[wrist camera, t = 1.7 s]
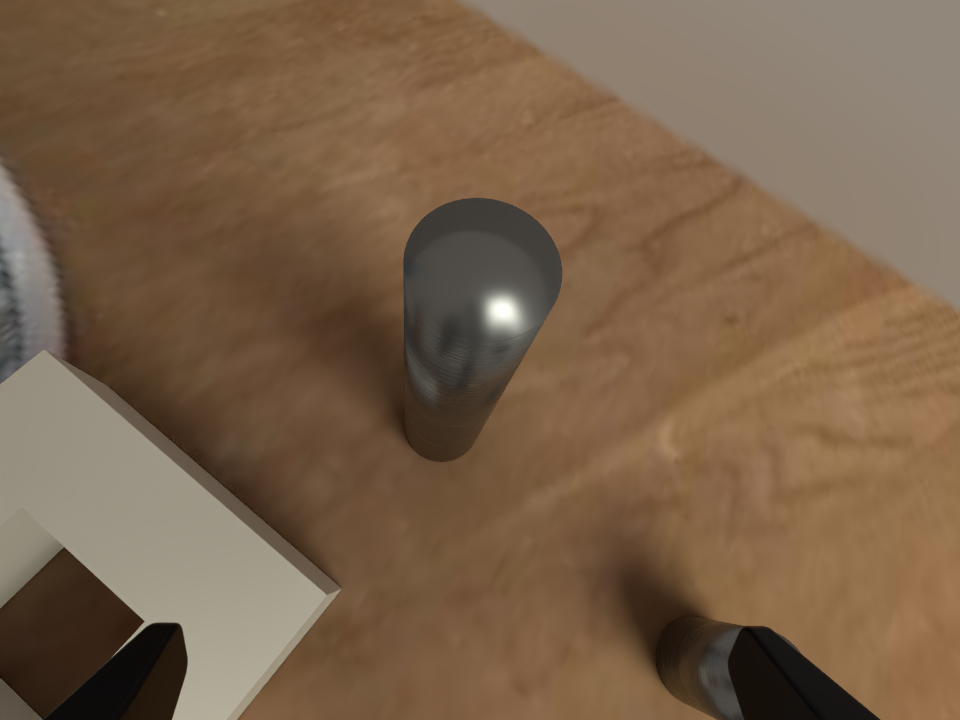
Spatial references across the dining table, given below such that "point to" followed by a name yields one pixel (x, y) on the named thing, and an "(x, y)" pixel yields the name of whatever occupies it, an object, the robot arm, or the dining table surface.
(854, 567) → the dining table surface
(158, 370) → the dining table surface
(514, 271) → the long pin
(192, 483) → the collar
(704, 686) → the short pin
